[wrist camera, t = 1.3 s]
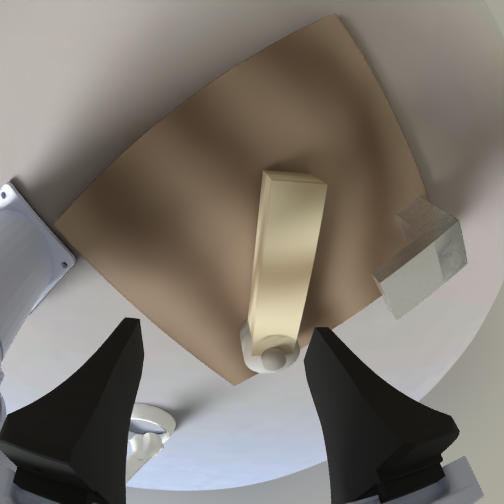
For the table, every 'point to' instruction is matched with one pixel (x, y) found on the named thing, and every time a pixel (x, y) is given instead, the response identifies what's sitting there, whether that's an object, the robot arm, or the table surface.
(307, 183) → the link
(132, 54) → the table surface
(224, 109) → the base board
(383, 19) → the table surface
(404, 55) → the table surface
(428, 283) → the block
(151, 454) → the vr controller
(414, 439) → the robot arm
